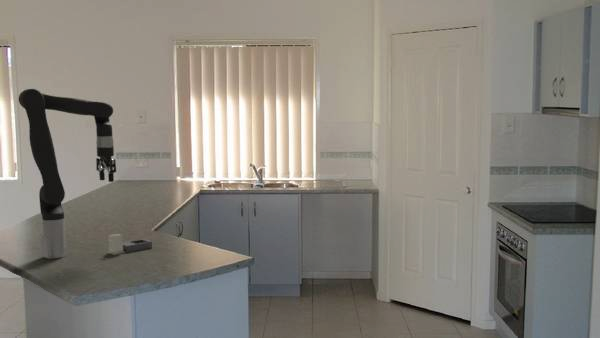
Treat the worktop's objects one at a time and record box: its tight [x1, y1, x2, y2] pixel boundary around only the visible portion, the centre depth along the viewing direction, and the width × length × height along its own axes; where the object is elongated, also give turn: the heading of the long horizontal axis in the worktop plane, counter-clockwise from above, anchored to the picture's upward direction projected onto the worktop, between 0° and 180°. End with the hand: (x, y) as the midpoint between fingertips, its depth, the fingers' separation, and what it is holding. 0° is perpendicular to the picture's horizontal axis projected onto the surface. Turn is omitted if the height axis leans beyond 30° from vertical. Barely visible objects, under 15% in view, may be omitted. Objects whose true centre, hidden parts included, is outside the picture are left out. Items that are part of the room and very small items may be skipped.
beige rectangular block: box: [107, 233, 124, 255], centre depth 296 cm, size 4×4×8 cm
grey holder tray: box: [123, 238, 153, 253], centre depth 303 cm, size 13×8×4 cm, turn 134°
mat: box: [106, 251, 127, 256], centre depth 296 cm, size 6×6×1 cm
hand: (106, 180), depth 303 cm, fingers open, 8 cm apart
